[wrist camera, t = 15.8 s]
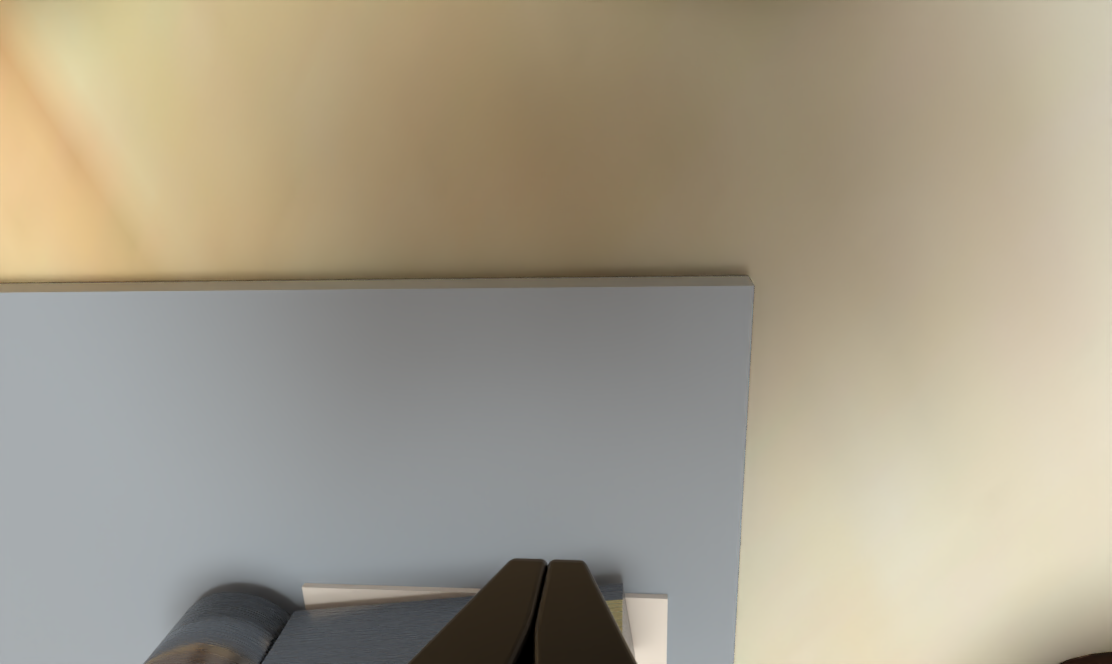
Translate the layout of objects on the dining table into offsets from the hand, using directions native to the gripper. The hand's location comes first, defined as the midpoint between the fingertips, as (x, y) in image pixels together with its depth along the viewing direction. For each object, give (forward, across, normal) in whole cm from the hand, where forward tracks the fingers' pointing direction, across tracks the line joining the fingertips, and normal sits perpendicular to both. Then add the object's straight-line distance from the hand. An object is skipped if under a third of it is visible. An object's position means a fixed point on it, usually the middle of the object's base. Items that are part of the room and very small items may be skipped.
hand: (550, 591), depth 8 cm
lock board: (+12, +11, +10) cm, 19 cm away
